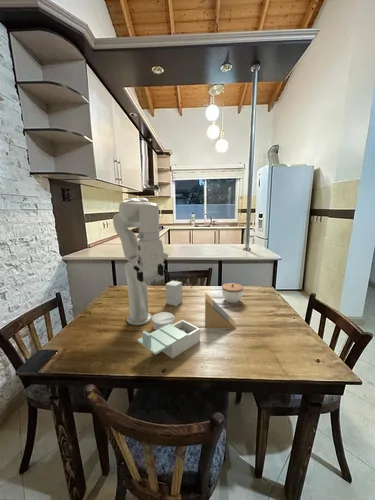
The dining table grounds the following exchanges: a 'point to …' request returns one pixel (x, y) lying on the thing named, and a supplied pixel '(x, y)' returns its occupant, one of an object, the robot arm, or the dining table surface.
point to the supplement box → (174, 293)
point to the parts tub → (187, 341)
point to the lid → (161, 338)
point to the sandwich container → (217, 316)
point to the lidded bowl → (232, 292)
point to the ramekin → (162, 319)
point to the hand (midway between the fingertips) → (150, 277)
